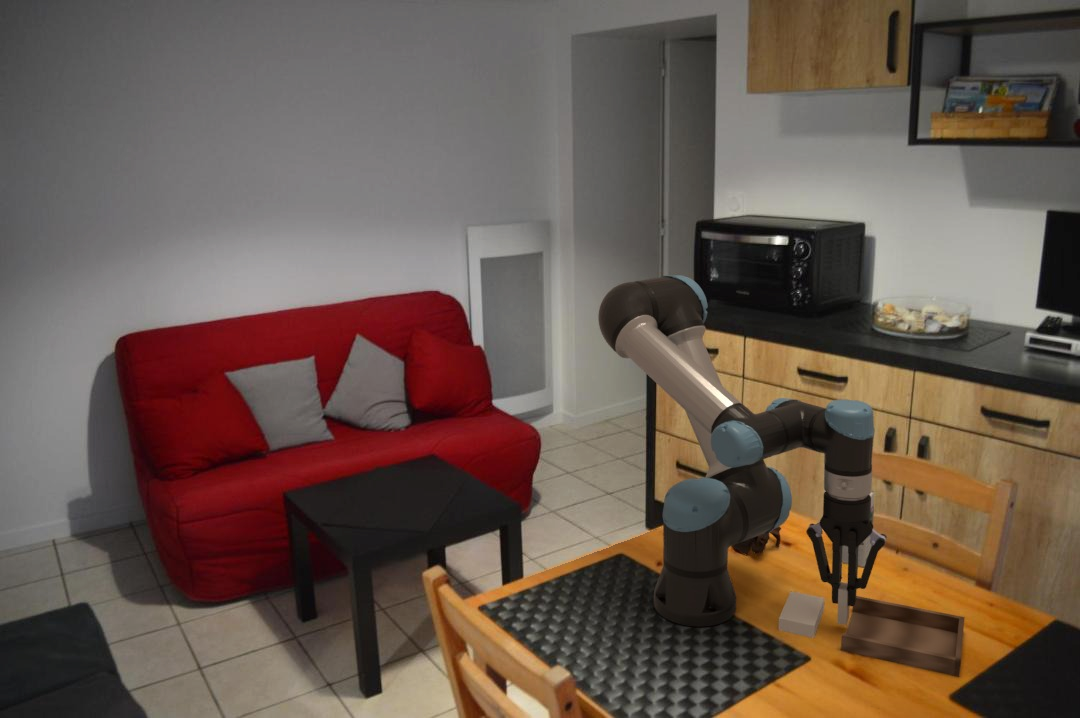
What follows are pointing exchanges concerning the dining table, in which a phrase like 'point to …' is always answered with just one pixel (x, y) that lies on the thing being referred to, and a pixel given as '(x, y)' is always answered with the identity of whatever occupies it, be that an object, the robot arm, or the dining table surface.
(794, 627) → the light grey block
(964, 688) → the dining table surface
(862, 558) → the syrup box
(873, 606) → the walnut box
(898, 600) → the dining table surface
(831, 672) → the dining table surface
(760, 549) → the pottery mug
